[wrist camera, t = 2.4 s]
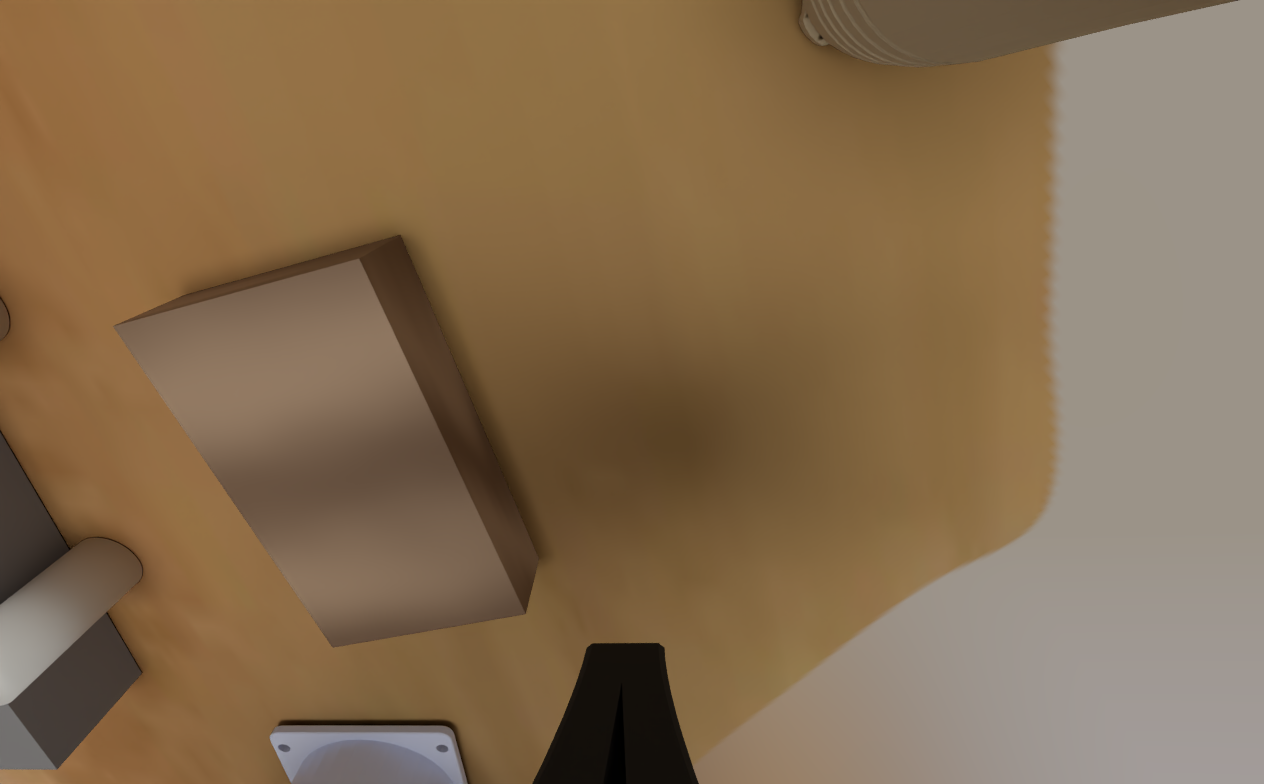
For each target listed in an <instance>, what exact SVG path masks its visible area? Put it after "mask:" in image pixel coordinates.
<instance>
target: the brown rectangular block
mask: <svg viewBox="0 0 1264 784" xmlns="http://www.w3.org/2000/svg"><path fill="white" fill-rule="evenodd" d="M113 327H114V328H115V330H116V331H117V333H118V334H119V336H120V337H121V339H122V340H123V342H124V343H125V345H126V346H127V347H128V349H129V350H130V352H131V353H132V355H133V356H134V358H135V359H136V361H137V362H138V364H139V365H140V366H141V368H142V369H143V371H144V372H145V374H146V375H147V377H148V378H149V380H150V381H151V383H152V384H153V385H154V387H155V388H156V390H157V391H158V393H159V394H160V396H161V397H162V399H163V400H164V402H165V403H166V404H167V406H168V407H169V409H170V410H171V412H172V413H173V415H174V416H175V418H176V419H177V421H178V422H179V423H180V425H181V426H182V428H183V429H184V431H185V432H186V434H187V435H188V437H189V438H190V440H191V441H192V443H193V444H194V445H195V447H196V448H197V450H198V451H199V453H200V454H201V456H202V457H203V459H204V460H205V462H206V463H207V464H208V466H209V467H210V469H211V470H212V472H213V473H214V475H215V476H216V478H217V479H218V481H219V482H220V483H221V485H222V486H223V488H224V489H225V491H226V492H227V494H228V495H229V497H230V498H231V500H232V501H233V502H234V504H235V505H236V507H237V508H238V510H239V511H240V513H241V514H242V516H243V517H244V519H245V520H246V521H247V523H248V524H249V526H250V527H251V529H252V530H253V532H254V533H255V535H256V536H257V538H258V539H259V540H260V542H261V543H262V545H263V546H264V548H265V549H266V551H267V552H268V554H269V555H270V557H271V558H272V560H273V561H274V562H275V564H276V565H277V567H278V568H279V570H280V571H281V573H282V574H283V576H284V577H285V579H286V580H287V581H288V583H289V584H290V586H291V587H292V589H293V590H294V592H295V593H296V595H297V596H298V598H299V599H300V600H301V602H302V603H303V605H304V606H305V608H306V609H307V611H308V612H309V614H310V615H311V617H312V618H313V619H314V621H315V622H316V624H317V625H318V627H319V628H320V630H321V631H322V633H323V634H324V636H325V637H326V638H327V640H328V641H329V643H330V644H331V646H332V647H339V646H345V645H350V644H356V643H362V642H368V641H373V640H379V639H385V638H391V637H396V636H402V635H408V634H414V633H420V632H425V631H431V630H437V629H443V628H448V627H454V626H460V625H466V624H471V623H477V622H483V621H489V620H494V619H500V618H506V617H512V616H517V615H523V614H526V610H527V606H528V602H529V598H530V594H531V590H532V586H533V582H534V578H535V573H536V569H537V565H538V561H539V558H538V555H537V553H536V551H535V548H534V546H533V544H532V541H531V539H530V537H529V534H528V532H527V530H526V527H525V525H524V523H523V520H522V518H521V516H520V513H519V511H518V509H517V506H516V504H515V502H514V499H513V497H512V495H511V492H510V490H509V488H508V485H507V483H506V481H505V478H504V476H503V474H502V471H501V469H500V467H499V464H498V462H497V460H496V457H495V455H494V453H493V450H492V448H491V446H490V443H489V441H488V439H487V436H486V434H485V432H484V429H483V427H482V425H481V422H480V420H479V418H478V415H477V413H476V410H475V408H474V406H473V403H472V401H471V399H470V396H469V394H468V392H467V389H466V387H465V385H464V382H463V380H462V378H461V375H460V373H459V371H458V368H457V366H456V364H455V361H454V359H453V357H452V354H451V352H450V350H449V347H448V345H447V343H446V340H445V338H444V336H443V333H442V331H441V329H440V326H439V324H438V322H437V319H436V317H435V315H434V312H433V310H432V308H431V305H430V303H429V301H428V298H427V296H426V294H425V291H424V289H423V287H422V284H421V282H420V280H419V277H418V275H417V273H416V270H415V268H414V266H413V263H412V261H411V259H410V256H409V254H408V252H407V249H406V247H405V245H404V242H403V240H402V238H401V235H399V236H395V237H392V238H388V239H384V240H381V241H377V242H374V243H370V244H366V245H363V246H359V247H356V248H352V249H348V250H345V251H341V252H338V253H334V254H330V255H327V256H323V257H320V258H316V259H313V260H309V261H305V262H302V263H298V264H295V265H291V266H287V267H284V268H280V269H277V270H273V271H269V272H266V273H262V274H259V275H255V276H251V277H248V278H244V279H241V280H237V281H233V282H230V283H226V284H223V285H219V286H216V287H212V288H208V289H205V290H201V291H198V292H194V293H190V294H187V295H184V296H181V297H179V298H177V299H174V300H172V301H170V302H167V303H165V304H163V305H161V306H158V307H156V308H154V309H151V310H149V311H147V312H145V313H142V314H140V315H138V316H135V317H133V318H131V319H128V320H126V321H124V322H122V323H119V324H117V325H115V326H113Z"/></svg>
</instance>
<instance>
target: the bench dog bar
mask: <svg viewBox="0 0 1264 784" xmlns="http://www.w3.org/2000/svg"><path fill="white" fill-rule="evenodd" d="M8 330H9V316H8V313H7V310H6V308H5V305H4V304H3V302H2V300H1V299H0V340H1V339H3V338H4V337H5V336H6V334H7V332H8ZM141 577H142V566H141V564H140V562H139V560H138V559H137V557H136V556H135V555H134V554H133V553H132V552H131V551H130V550H128V549H127V548H126V547H124V546H122V545H121V544H119V543H117V542H114V541H112V540H108V539H104V538H88V539H85V540H83V541H81V542H80V543H78V544H77V545H76V546H75V547H73V548H72V549H71V550H69V549H68V547H67V545H66V543H65V542H64V540H63V538H62V537H61V535H60V533H59V531H58V530H57V528H56V526H55V525H54V523H53V521H52V520H51V518H50V516H49V514H48V513H47V511H46V509H45V508H44V506H43V504H42V503H41V501H40V499H39V497H38V496H37V494H36V492H35V491H34V489H33V487H32V485H31V484H30V482H29V480H28V479H27V477H26V475H25V474H24V472H23V470H22V468H21V467H20V465H19V463H18V462H17V460H16V458H15V457H14V455H13V453H12V451H11V450H10V448H9V446H8V445H7V443H6V441H5V439H4V438H3V436H2V434H1V433H0V769H58V768H59V767H60V766H61V764H62V763H63V762H64V761H65V760H66V759H67V758H68V757H69V755H70V754H71V753H72V752H73V751H74V750H75V749H76V747H77V746H78V745H79V744H80V743H81V742H82V741H83V740H84V738H85V737H86V736H87V735H88V734H89V733H90V732H91V730H92V729H93V728H94V727H95V726H96V725H97V724H98V723H99V721H100V720H101V719H102V718H103V717H104V716H105V715H106V714H107V712H108V711H109V710H110V709H111V708H112V707H113V706H114V704H115V703H116V702H117V701H118V700H119V699H120V698H121V697H122V695H123V694H124V693H125V692H126V691H127V690H128V689H129V687H130V686H131V685H132V684H133V683H134V682H135V681H136V680H137V678H138V677H139V676H140V675H141V674H142V673H141V671H140V669H139V668H138V666H137V664H136V663H135V661H134V659H133V658H132V656H131V654H130V652H129V651H128V649H127V647H126V646H125V644H124V642H123V641H122V639H121V637H120V635H119V634H118V632H117V630H116V629H115V627H114V625H113V623H112V622H111V620H110V618H109V617H108V615H107V613H106V612H107V611H108V610H109V609H110V608H111V607H112V606H113V605H114V604H115V603H116V602H118V601H119V600H120V599H121V598H122V597H123V596H124V595H125V594H126V593H127V592H128V591H129V590H130V589H131V588H132V587H133V586H134V585H135V584H137V583H138V582H139V580H140V579H141Z"/></svg>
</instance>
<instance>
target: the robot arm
mask: <svg viewBox="0 0 1264 784" xmlns="http://www.w3.org/2000/svg"><path fill="white" fill-rule="evenodd" d="M270 741H271V743H272V745H273V747H274V749H275V751H276V753H277V755H278V757H279V759H280V761H281V763H282V765H283V768H284V770H285V772H286V774H287V776H288V778H289V780H290V782H291V784H468V783H467V779H466V776H465V772H464V768H463V765H462V761H461V757H460V754H459V750H458V746H457V742H456V739H455V735H454V732H453V731H452V730H451V729H450V728H449V727H446V726H418V725H282V726H277V727H276V728H274V730H273V732H272V733H271V735H270ZM532 784H699V783H698V781H697V778H696V775H695V772H694V769H693V766H692V763H691V760H690V757H689V754H688V751H687V748H686V745H685V741H684V738H683V735H682V732H681V729H680V725H679V722H678V718H677V715H676V711H675V707H674V703H673V699H672V695H671V690H670V686H669V681H668V675H667V669H666V662H665V649H664V647H663V646H661V645H660V644H659V643H593V644H591V645H590V646H589V647H587V649H586V653H585V657H584V661H583V664H582V667H581V670H580V673H579V676H578V679H577V682H576V685H575V688H574V690H573V693H572V696H571V698H570V701H569V703H568V706H567V708H566V711H565V714H564V716H563V718H562V721H561V723H560V725H559V727H558V730H557V732H556V734H555V737H554V739H553V741H552V743H551V746H550V748H549V750H548V752H547V755H546V757H545V759H544V761H543V763H542V765H541V767H540V769H539V771H538V773H537V775H536V777H535V779H534V781H533V783H532Z"/></svg>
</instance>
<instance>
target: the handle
mask: <svg viewBox="0 0 1264 784" xmlns="http://www.w3.org/2000/svg"><path fill="white" fill-rule="evenodd" d="M1233 1H1238V0H802V12H801V15H800V18H799V25H800V28H801V29H802V31H803V33H804V34H805V35H806V36H807V37H808V38H809V39H810V40H811V41H812V42H813V43H815V44H816V45H819V46H824V45H828V44H830V45H832V46H833V47H835V48H836V49H838V50H840V51H842V52H843V53H846V54H848V55H850V56H852V57H854V58H857V59H861V60H864V61H868V62H872V63H876V64H884V65H896V66H908V67H929V66H940V65H951V64H961V63H970V62H978V61H983V60H987V59H991V58H995V57H999V56H1003V55H1007V54H1011V53H1015V52H1019V51H1023V50H1027V49H1031V48H1035V47H1039V46H1043V45H1047V44H1051V43H1055V42H1059V41H1064V40H1068V39H1072V38H1076V37H1080V36H1084V35H1088V34H1092V33H1096V32H1100V31H1104V30H1108V29H1112V28H1116V27H1120V26H1124V25H1128V24H1133V23H1138V22H1142V21H1147V20H1151V19H1156V18H1160V17H1165V16H1169V15H1174V14H1178V13H1183V12H1187V11H1192V10H1196V9H1201V8H1206V7H1210V6H1215V5H1219V4H1224V3H1228V2H1233Z"/></svg>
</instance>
